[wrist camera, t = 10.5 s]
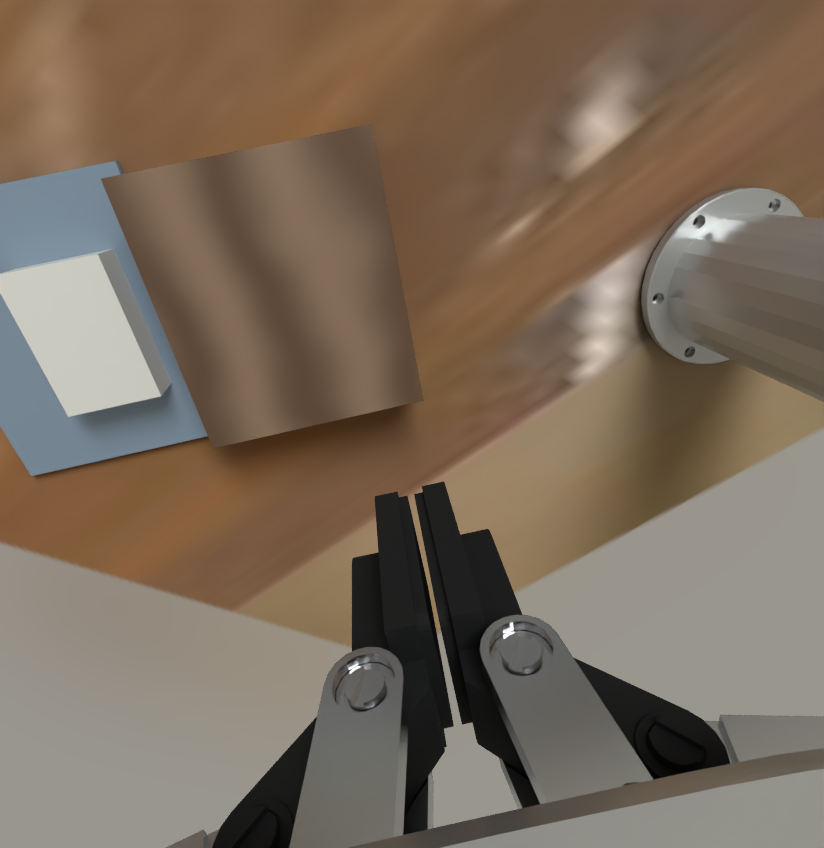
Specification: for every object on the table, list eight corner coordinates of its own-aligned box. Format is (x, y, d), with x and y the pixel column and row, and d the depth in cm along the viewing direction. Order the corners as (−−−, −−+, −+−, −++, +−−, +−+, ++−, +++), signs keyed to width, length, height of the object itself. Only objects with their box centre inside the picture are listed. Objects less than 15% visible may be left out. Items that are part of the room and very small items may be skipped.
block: (-10, 276, 29) (15, 269, 31) (68, 416, 33) (84, 401, 35) (97, 254, 29) (114, 248, 31) (161, 396, 33) (171, 382, 35)
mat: (118, 161, 30) (115, 161, 29) (225, 429, 38) (223, 432, 37) (-128, 210, 29) (-135, 210, 29) (35, 472, 37) (31, 476, 37)
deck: (365, 131, 31) (371, 124, 26) (412, 374, 38) (423, 400, 34) (134, 178, 30) (100, 178, 26) (227, 416, 37) (213, 448, 33)
